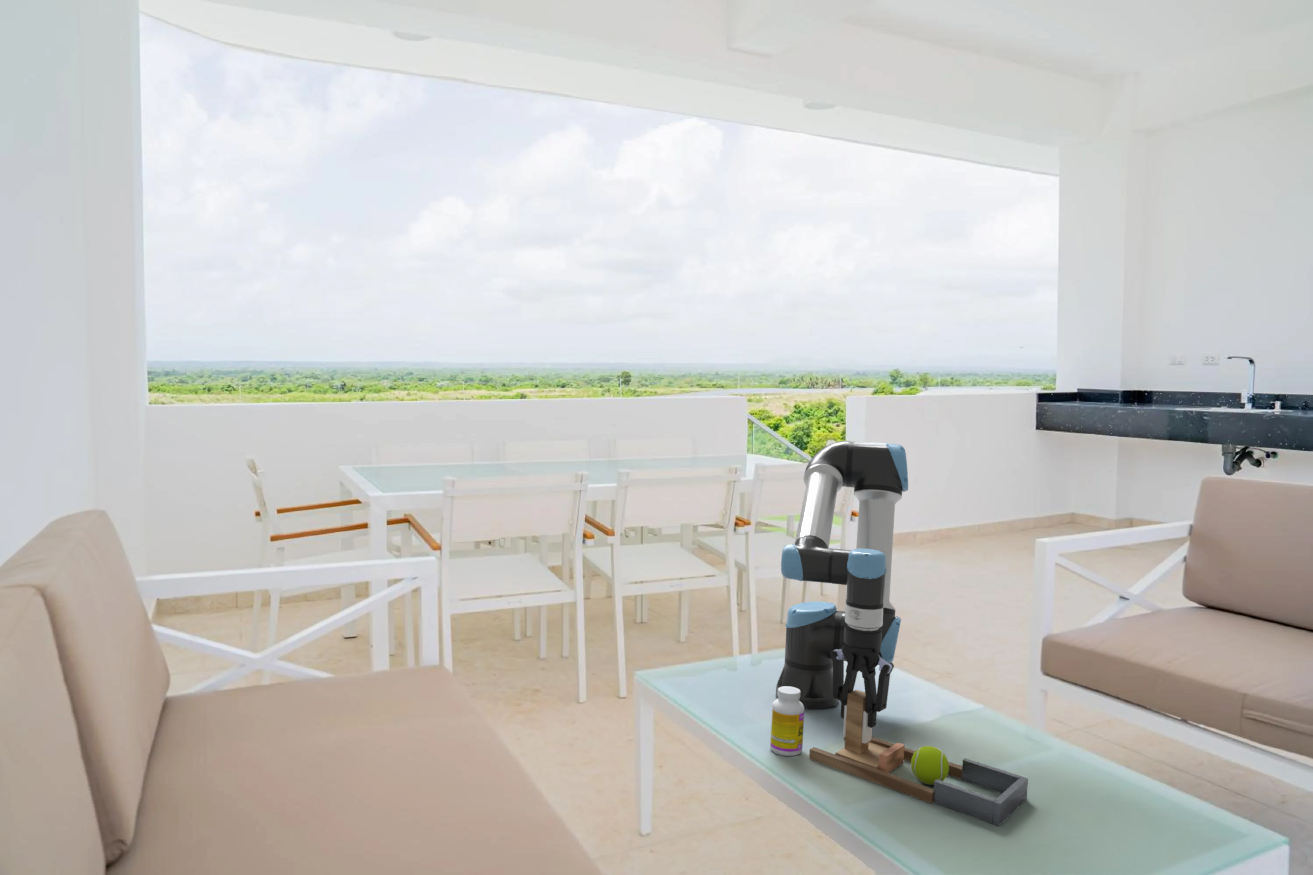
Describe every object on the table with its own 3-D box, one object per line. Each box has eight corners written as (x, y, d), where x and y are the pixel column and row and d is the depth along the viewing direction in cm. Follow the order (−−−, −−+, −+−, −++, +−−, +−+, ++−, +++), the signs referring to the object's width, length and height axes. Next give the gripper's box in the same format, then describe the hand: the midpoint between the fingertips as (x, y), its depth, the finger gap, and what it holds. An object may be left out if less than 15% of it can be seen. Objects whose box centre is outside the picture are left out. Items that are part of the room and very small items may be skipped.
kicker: (859, 745, 182) (862, 685, 181) (905, 761, 175) (909, 699, 174) (835, 759, 175) (838, 697, 174) (882, 776, 168) (886, 711, 167)
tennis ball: (949, 779, 168) (951, 744, 168) (945, 794, 162) (947, 758, 162) (913, 771, 171) (914, 737, 171) (907, 785, 165) (909, 750, 165)
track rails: (847, 737, 187) (847, 728, 187) (965, 776, 170) (965, 766, 170) (809, 758, 175) (809, 749, 175) (931, 803, 158) (932, 792, 158)
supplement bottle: (801, 758, 175) (804, 697, 174) (768, 754, 176) (771, 693, 176) (802, 745, 182) (805, 686, 181) (771, 742, 183) (774, 682, 182)
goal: (963, 777, 169) (965, 757, 169) (1026, 798, 161) (1028, 778, 161) (932, 802, 159) (934, 781, 158) (998, 826, 151) (1000, 803, 150)
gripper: (818, 620, 178) (812, 730, 180) (892, 638, 167) (885, 756, 168) (837, 614, 184) (831, 721, 185) (909, 631, 173) (903, 745, 174)
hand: (857, 737), depth 177 cm, fingers closed on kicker, 4 cm apart
